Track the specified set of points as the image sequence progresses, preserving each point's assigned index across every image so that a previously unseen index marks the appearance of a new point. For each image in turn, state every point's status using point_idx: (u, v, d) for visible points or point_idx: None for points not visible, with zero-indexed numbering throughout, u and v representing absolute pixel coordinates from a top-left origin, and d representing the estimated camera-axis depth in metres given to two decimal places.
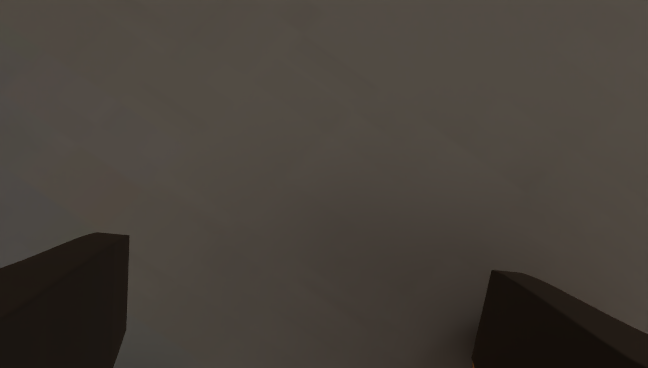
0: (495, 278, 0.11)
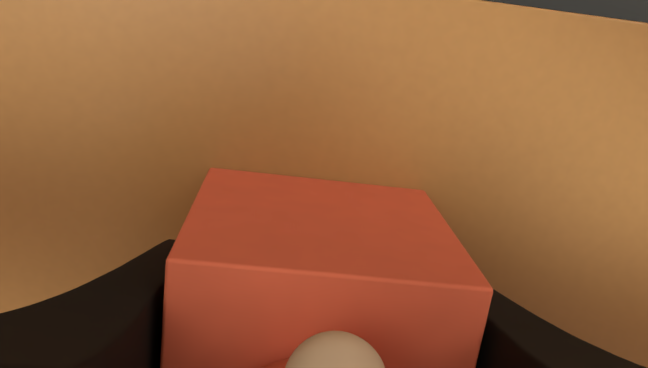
0: None
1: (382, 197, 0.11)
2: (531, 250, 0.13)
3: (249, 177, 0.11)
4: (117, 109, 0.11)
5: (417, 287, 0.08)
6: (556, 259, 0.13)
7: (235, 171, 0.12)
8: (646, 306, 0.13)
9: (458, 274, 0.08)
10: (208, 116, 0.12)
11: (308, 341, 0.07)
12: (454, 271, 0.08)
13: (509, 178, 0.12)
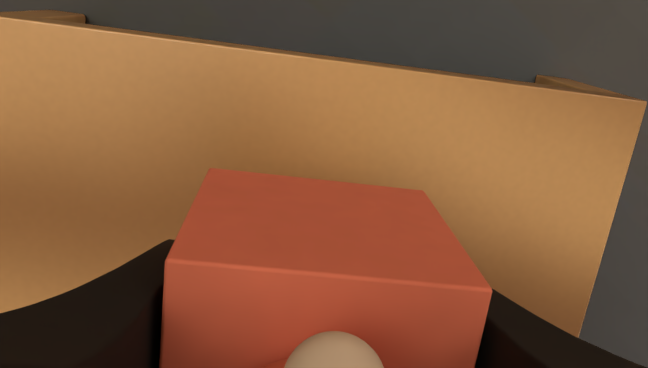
0: None
1: (381, 198, 0.11)
2: None
3: (248, 177, 0.11)
4: (128, 142, 0.16)
5: (416, 287, 0.08)
6: None
7: (234, 171, 0.12)
8: (518, 286, 0.18)
9: (457, 274, 0.08)
10: (193, 147, 0.16)
11: (307, 341, 0.07)
12: (453, 271, 0.08)
13: None
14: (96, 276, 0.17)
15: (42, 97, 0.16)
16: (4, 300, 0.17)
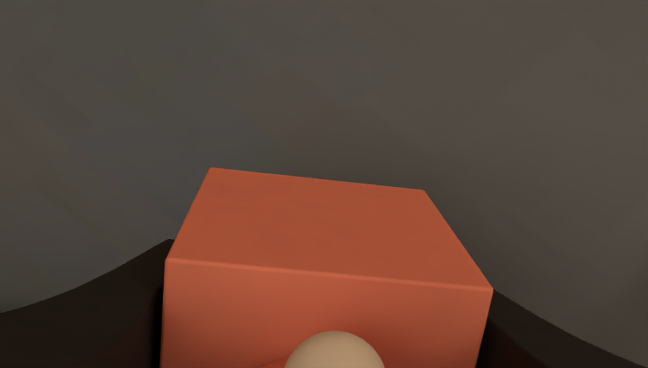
0: None
1: (382, 197, 0.11)
2: None
3: (249, 177, 0.11)
4: None
5: (417, 286, 0.08)
6: None
7: (235, 171, 0.12)
8: None
9: (458, 274, 0.08)
10: None
11: (307, 341, 0.07)
12: (454, 271, 0.08)
13: None
14: None
15: None
16: None
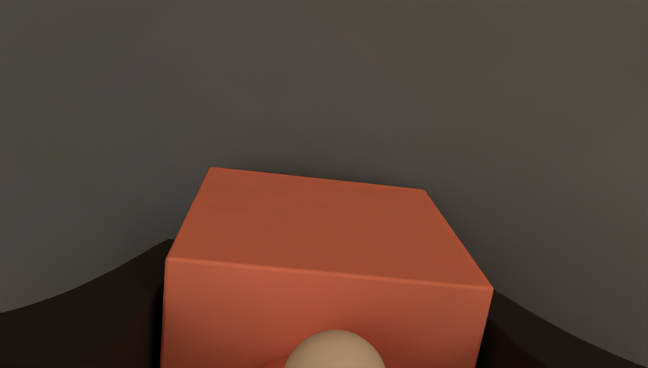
0: None
1: (382, 196, 0.11)
2: None
3: (249, 176, 0.11)
4: None
5: (417, 286, 0.08)
6: None
7: (235, 170, 0.12)
8: None
9: (458, 273, 0.08)
10: None
11: (308, 340, 0.07)
12: (454, 270, 0.08)
13: None
14: None
15: None
16: None
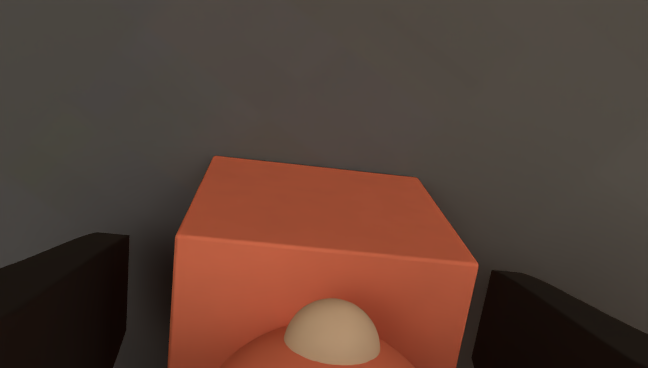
0: (495, 278, 0.11)
1: (377, 183, 0.12)
2: None
3: (251, 164, 0.12)
4: None
5: (408, 262, 0.09)
6: None
7: (238, 159, 0.12)
8: None
9: (446, 251, 0.09)
10: None
11: (306, 307, 0.07)
12: (442, 248, 0.09)
13: None
14: None
15: None
16: None
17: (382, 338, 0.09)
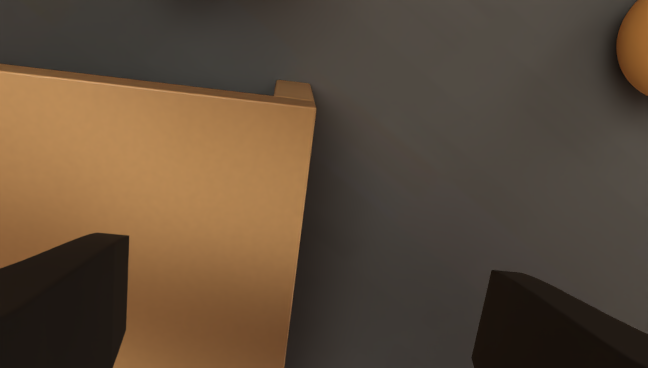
0: (495, 278, 0.11)
1: None
2: None
3: None
4: None
5: None
6: (133, 262, 0.17)
7: None
8: (212, 298, 0.17)
9: None
10: None
11: None
12: None
13: (82, 202, 0.16)
14: None
15: None
16: None
17: None
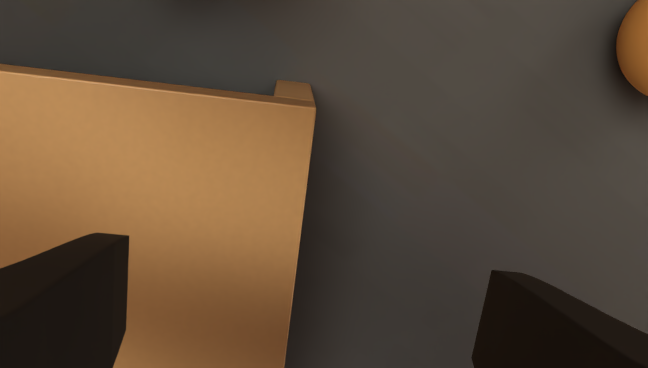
0: (495, 278, 0.11)
1: None
2: None
3: None
4: None
5: None
6: (133, 262, 0.17)
7: None
8: (212, 298, 0.17)
9: None
10: None
11: None
12: None
13: (82, 202, 0.16)
14: None
15: None
16: None
17: None
